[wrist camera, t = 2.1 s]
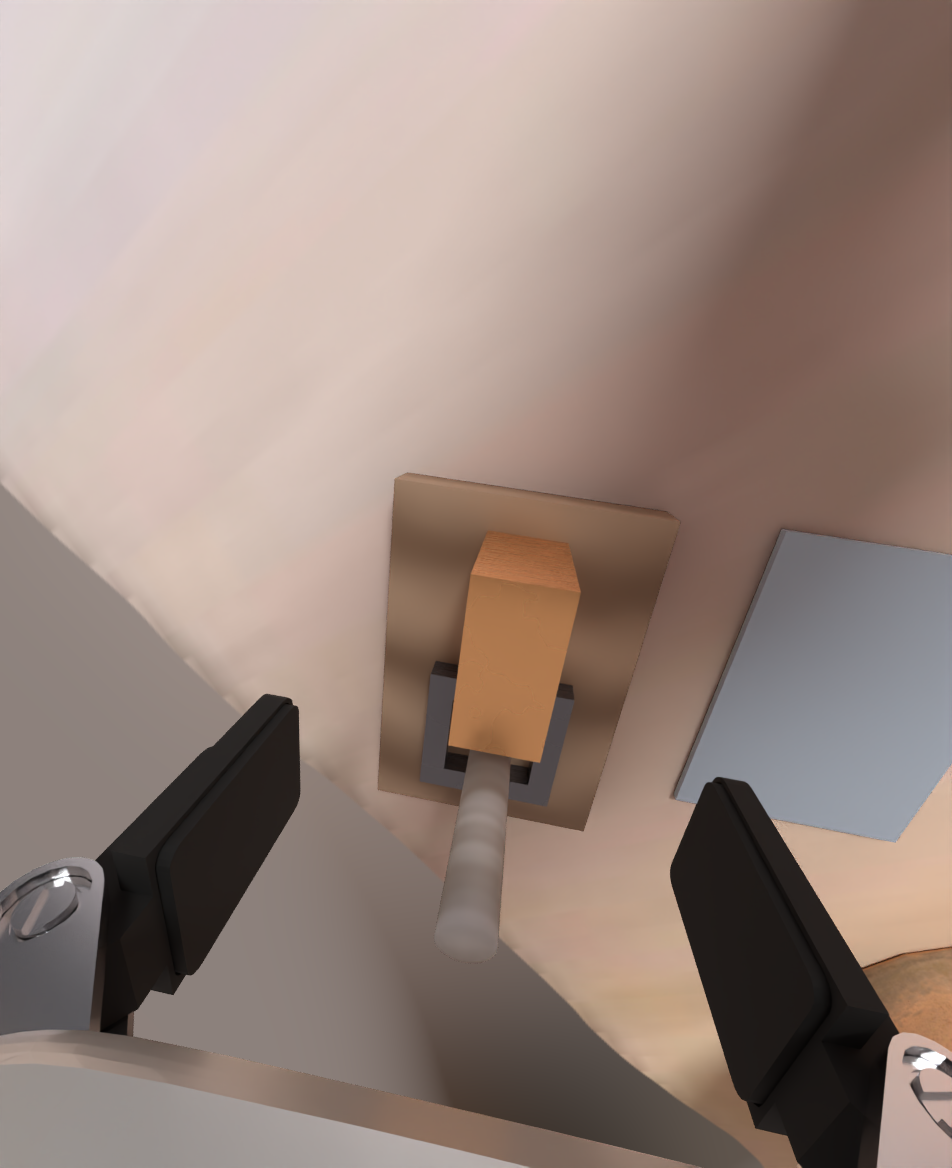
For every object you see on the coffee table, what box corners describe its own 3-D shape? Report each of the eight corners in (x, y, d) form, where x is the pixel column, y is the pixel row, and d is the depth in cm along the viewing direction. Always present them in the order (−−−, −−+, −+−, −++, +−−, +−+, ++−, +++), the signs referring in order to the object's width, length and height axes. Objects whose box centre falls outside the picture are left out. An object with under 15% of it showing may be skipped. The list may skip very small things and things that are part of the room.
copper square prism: (450, 524, 19) (419, 565, 14) (607, 549, 19) (634, 601, 14) (424, 764, 24) (395, 857, 19) (546, 788, 24) (549, 890, 19)
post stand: (407, 472, 20) (256, 545, 9) (667, 511, 20) (837, 642, 9) (388, 764, 27) (288, 1004, 16) (580, 801, 26) (612, 1082, 15)
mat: (781, 528, 19) (786, 531, 19) (1074, 572, 18) (1085, 576, 18) (673, 794, 25) (675, 799, 25) (890, 836, 25) (895, 842, 24)
